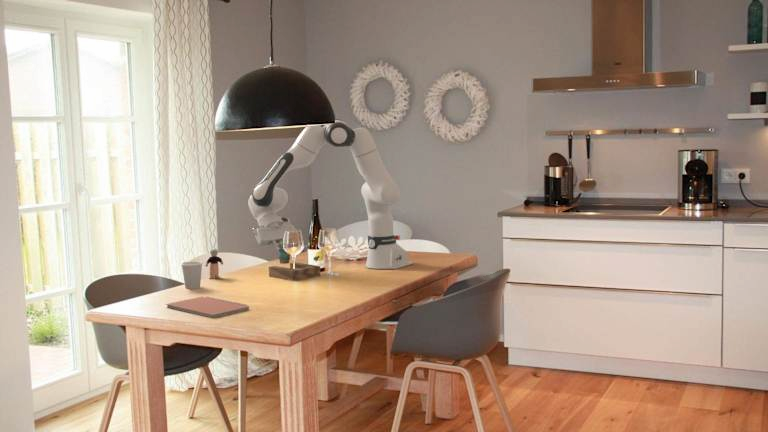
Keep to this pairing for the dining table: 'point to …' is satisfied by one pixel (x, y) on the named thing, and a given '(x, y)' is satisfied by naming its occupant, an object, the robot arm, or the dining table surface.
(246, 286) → the dining table surface
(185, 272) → the dixie cup
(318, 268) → the dark brown square block
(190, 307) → the notebook
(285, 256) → the teal drink can
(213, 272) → the grandmother figurine
